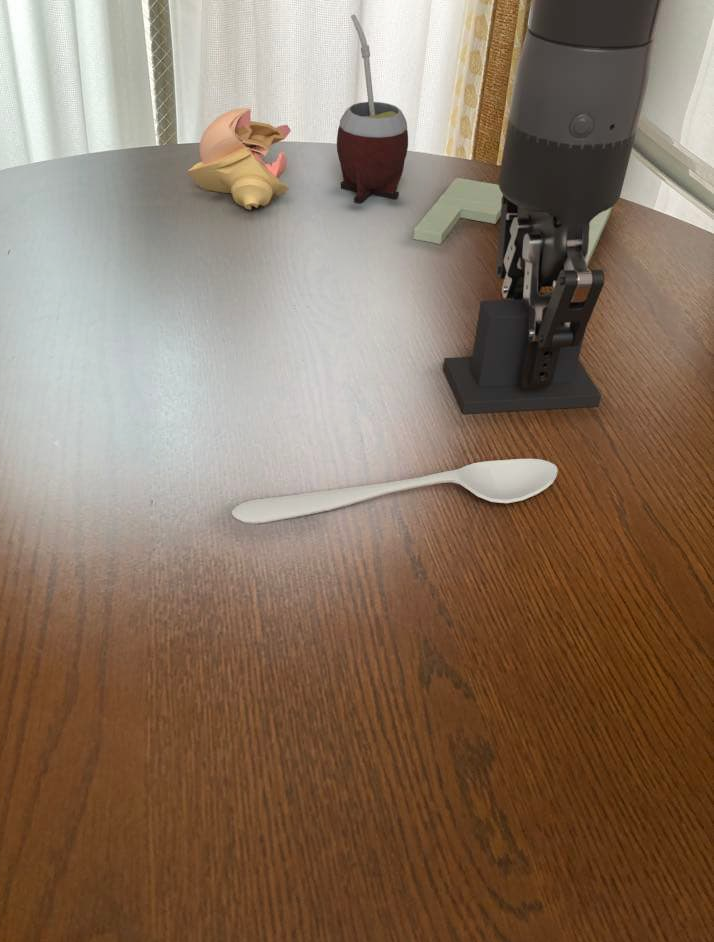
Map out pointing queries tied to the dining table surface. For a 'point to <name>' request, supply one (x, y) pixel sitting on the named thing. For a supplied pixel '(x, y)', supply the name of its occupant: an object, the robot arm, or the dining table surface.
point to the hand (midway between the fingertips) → (523, 364)
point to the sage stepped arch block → (479, 212)
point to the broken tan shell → (240, 159)
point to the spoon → (482, 479)
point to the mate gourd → (371, 141)
